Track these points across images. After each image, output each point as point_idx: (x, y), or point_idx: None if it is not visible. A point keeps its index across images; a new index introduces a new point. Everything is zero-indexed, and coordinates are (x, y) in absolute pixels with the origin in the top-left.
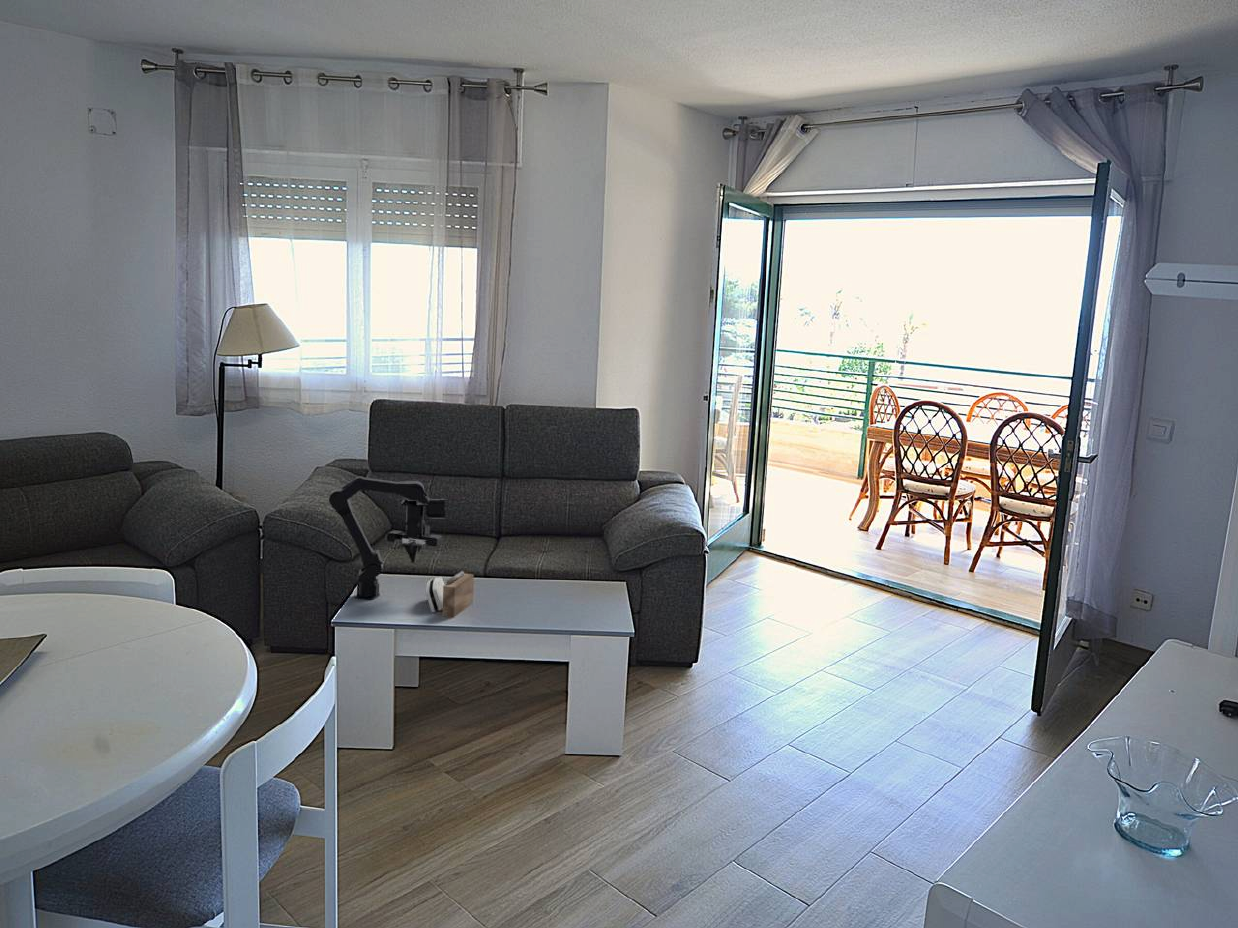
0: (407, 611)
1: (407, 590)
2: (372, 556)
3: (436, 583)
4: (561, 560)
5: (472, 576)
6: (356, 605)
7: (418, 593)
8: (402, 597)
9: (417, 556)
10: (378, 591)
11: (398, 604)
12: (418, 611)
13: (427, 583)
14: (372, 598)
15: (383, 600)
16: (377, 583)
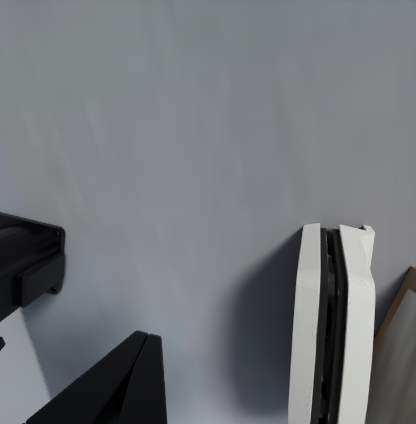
0: (214, 387)
1: (150, 137)
2: None
3: None
4: None
5: None
6: (41, 346)
7: (208, 177)
8: (157, 243)
9: (164, 409)
10: (53, 265)
11: (166, 325)
12: (249, 385)
13: (291, 421)
14: (59, 289)
15: (102, 288)
16: (19, 282)
